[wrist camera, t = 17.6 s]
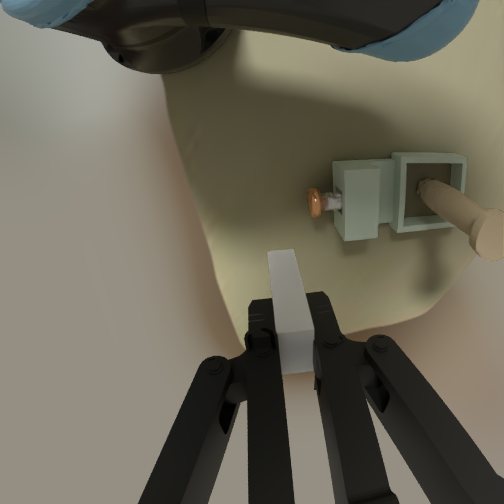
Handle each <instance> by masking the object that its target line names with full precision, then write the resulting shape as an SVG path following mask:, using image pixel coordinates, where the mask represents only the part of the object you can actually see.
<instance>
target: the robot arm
mask: <svg viewBox="0 0 504 504" xmlns="http://www.w3.org/2000/svg"><path fill="white" fill-rule="evenodd" d="M0 3H1V4H2V7H3V10H4V11H5V12H6V13H7V14H8V15H10V16H12V17H14V18H17V19H20V20H22V21H25V22H27V23H30V24H31V25H33V26H35V27H38V28H52V29H56V30H60V31H64V32H68V33H72V34H76V35H79V36H83V37H87V38H90V39H94V40H97V41H100V42H101V43H102V44H103V46H104V48H105V50H106V51H107V53H108V54H109V55H110V56H111V57H112V58H113V59H114V60H115V61H117V62H118V63H120V64H121V65H123V66H125V67H127V68H130V69H132V70H136V71H140V72H144V73H150V74H166V73H173V72H177V71H181V70H184V69H187V68H190V67H192V66H194V65H196V64H198V63H200V62H201V61H203V60H205V59H206V58H207V57H209V56H210V55H211V54H213V53H214V52H215V51H216V50H217V49H218V48H219V47H220V46H221V45H222V44H223V42H224V41H225V40H226V38H227V37H228V35H229V33H230V32H231V30H232V29H239V30H249V31H257V32H265V33H272V34H278V35H284V36H290V37H296V38H301V39H306V40H310V41H315V42H319V43H324V44H328V45H330V46H331V47H332V48H334V49H336V50H339V51H342V52H347V53H362V54H366V55H369V56H373V57H376V58H380V59H383V60H387V61H393V62H398V61H404V62H409V61H415V60H419V59H422V58H425V57H427V56H430V55H432V54H434V53H436V52H437V51H439V50H441V49H442V48H444V47H445V46H446V45H448V44H449V43H450V42H451V41H452V40H453V39H455V38H456V37H457V36H458V35H459V34H460V32H461V31H462V30H463V29H464V28H465V27H466V25H467V24H468V22H469V21H470V19H471V18H472V16H473V14H474V12H475V10H476V8H477V5H478V3H479V0H0ZM267 256H268V265H269V274H270V283H271V292H272V298H268V299H259V300H252V302H251V304H250V305H249V307H248V321H249V322H248V330H249V331H248V332H247V333H246V334H245V337H244V340H245V345H246V351H245V352H244V353H243V354H241V355H240V356H238V357H235V358H233V359H229V360H227V359H226V358H225V357H221V356H212V357H209V358H207V359H205V360H204V361H202V363H201V364H200V366H199V368H198V370H197V372H196V374H195V377H194V379H193V381H192V383H191V386H190V388H189V390H188V393H187V395H186V397H185V399H184V401H183V404H182V406H181V408H180V410H179V413H178V415H177V417H176V419H175V421H174V424H173V426H172V428H171V430H170V433H169V435H168V437H167V440H166V442H165V444H164V446H163V448H162V451H161V453H160V455H159V457H158V460H157V462H156V464H155V466H154V469H153V471H152V473H151V475H150V478H149V480H148V482H147V484H146V487H145V489H144V491H143V493H142V496H141V498H140V500H139V502H138V504H208V501H209V498H210V495H211V493H212V490H213V487H214V483H215V481H216V478H217V475H218V472H219V469H220V466H221V463H222V459H223V457H224V453H225V450H226V447H227V444H228V441H229V438H230V435H231V432H232V428H233V425H234V422H235V419H236V416H237V412H238V409H239V406H240V402H243V401H246V400H247V414H248V415H247V416H248V417H247V419H248V495H249V496H248V498H249V499H248V502H249V504H295V501H294V491H293V479H292V468H291V458H290V447H289V438H288V429H287V428H288V427H287V419H286V408H285V399H284V389H283V380H282V375H286V374H294V373H302V372H309V371H313V367H314V371H315V384H314V390H317V395H318V401H319V407H320V412H321V417H322V424H323V429H324V435H325V441H326V447H327V453H328V459H329V465H330V471H331V478H332V485H333V492H334V498H335V504H399V501H398V498H397V497H396V495H395V494H394V493H393V492H392V491H391V489H390V487H389V483H388V478H387V474H386V470H385V466H384V462H383V459H382V455H381V451H380V447H379V443H378V439H377V436H376V433H375V428H374V425H373V421H372V418H371V414H370V411H369V408H368V404H367V401H368V402H369V404H370V406H371V407H372V409H373V410H374V412H375V413H376V415H377V417H378V418H379V420H380V421H381V423H382V425H383V426H384V428H385V429H386V431H387V432H388V434H389V436H390V437H391V439H392V441H393V442H394V444H395V445H396V447H397V449H398V450H399V452H400V453H401V455H402V457H403V458H404V460H405V461H406V463H407V465H408V466H409V468H410V470H411V471H412V473H413V475H414V476H415V478H416V480H417V481H418V483H419V484H420V486H421V488H422V489H423V491H424V493H425V494H426V496H427V498H428V499H429V501H430V503H431V504H504V478H502V477H500V476H499V475H497V474H496V472H495V471H494V469H493V468H492V467H491V465H490V464H489V462H488V461H487V459H486V458H485V456H484V455H483V454H482V452H481V451H480V450H479V448H478V447H477V445H476V444H475V443H474V441H473V440H472V439H471V437H470V436H469V434H468V433H467V432H466V430H465V429H464V428H463V427H462V425H461V424H460V423H459V421H458V420H457V418H456V417H455V416H454V414H453V413H452V412H451V411H450V409H449V408H448V407H447V405H446V404H445V403H444V402H443V400H442V399H441V398H440V397H439V395H438V394H437V393H436V391H435V390H434V389H433V388H432V386H431V385H430V384H429V383H428V382H427V380H426V379H425V378H424V376H423V375H422V374H421V373H420V371H419V370H418V369H417V368H416V367H415V365H414V364H413V363H412V362H411V360H410V359H409V358H408V357H407V356H406V355H405V353H404V352H403V351H402V350H401V349H400V347H399V346H398V345H397V344H396V342H395V341H394V340H393V339H391V338H390V337H388V336H386V335H374V336H372V337H370V338H369V339H368V340H367V342H356V341H352V340H349V339H347V338H346V337H345V336H344V335H343V334H342V333H341V331H340V329H339V326H338V323H337V320H336V317H335V314H334V311H333V308H332V305H331V302H330V300H329V297H328V296H327V295H326V294H325V293H324V292H323V291H321V292H313V293H305V290H304V287H303V283H302V279H301V275H300V272H299V268H298V264H297V261H296V257H295V253H294V250H293V249H286V250H277V251H268V252H267ZM366 399H367V401H366Z"/></svg>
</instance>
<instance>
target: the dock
mask: <svg viewBox="0 0 504 504" xmlns="http://www.w3.org/2000/svg"><path fill="white" fill-rule="evenodd" d="M407 163H451V178H450V186H451V187H453V188H455V189H457V190H458V191H460V192H461V193H462V194H464V193H465V183H466V171H467V157H465V156H462V155H459V154H457V153H433V152H391V159H367V160H346V161H332V172H333V192H339V191H342V209H339V210H334V226H335V227H336V229H337V230H338V232H339V233H340V235H341V237H342V238H343V240H344V241H354V240H362V239H371V238H377V237H378V224H380V223H389V225H390V226H391V227H392V228H393V230H394V231H395V232H396V233H403V232H412V231H421V230H430V229H439V228H447V227H456V226H454V225H453V224H451V223H449V222H448V221H446V220H445V219H443V218H441V217H440V216H439V215H429V216H418V217H407V218H404V210H405V195H406V170H407Z"/></svg>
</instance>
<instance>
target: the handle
mask: <svg viewBox="0 0 504 504" xmlns="http://www.w3.org/2000/svg"><path fill="white" fill-rule="evenodd" d="M416 192H417V194H418V195H419V196H420V197H421V200H422V201H423V202H424V203H425V204H426V205H427V206H428V207H429V208H430V209H431V210H433V211H434V212H435V213H436V214H438V215H439V216H440V217H441V218H443V219H445V220H446V221H448V222H449V223H451V224H453V225H454V226H456V227H457V228H459V229H460V230H462V231H463V232H465V233H466V234H468V235H469V236H470V237H469V244H470V246H471V247H472V248H473V250H474V251H475V252H476V253H477V254H478V255H479V256H480V257H481V258H483V259H484V260H488V261H497V260H499V259H501V258H503V257H504V212H503V211H501V210H499V209H495V208H491V209H488V210H485V209H483V208H482V207H481V206H479V205H478V204H477V203H475V202H474V201H472V200H471V199H470V198H468V197H467V196H465V195H464V194H462V193H461V192H460V191H458V190H457V189H455V188H453V187H451V186H449V185H447V184H445V183H442V182H440V181H436V180H435V179H432V178H426V179H425V180H423V181H421V180H420V181H419V183H418V188H417V190H416Z"/></svg>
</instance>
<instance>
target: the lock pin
mask: <svg viewBox="0 0 504 504" xmlns="http://www.w3.org/2000/svg"><path fill="white" fill-rule="evenodd" d="M307 198H308V207H309V212H310V216H311V217H312V218H313V217H321V216H322V211H328V210H339V209H342V191H339V192H328V193H320V191H319V189H318V188H312V189H308V193H307Z"/></svg>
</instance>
